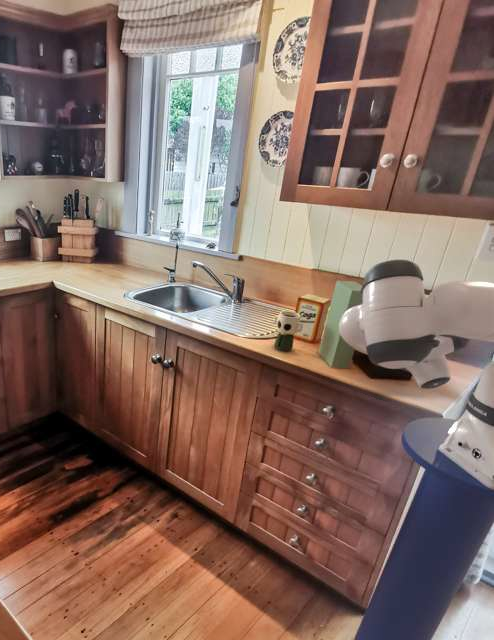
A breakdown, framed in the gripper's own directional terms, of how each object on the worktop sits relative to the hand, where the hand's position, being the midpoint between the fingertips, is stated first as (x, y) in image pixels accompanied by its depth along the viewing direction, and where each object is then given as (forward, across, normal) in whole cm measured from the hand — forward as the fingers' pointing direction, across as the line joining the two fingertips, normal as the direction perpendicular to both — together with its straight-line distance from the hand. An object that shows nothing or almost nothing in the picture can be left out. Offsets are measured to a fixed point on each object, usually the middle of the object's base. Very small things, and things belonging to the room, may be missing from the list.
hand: (403, 302), depth 142 cm
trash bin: (-7, 0, +23) cm, 24 cm away
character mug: (+2, +28, +28) cm, 39 cm away
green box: (-5, +13, +24) cm, 28 cm away
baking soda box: (+12, +16, +34) cm, 39 cm away
